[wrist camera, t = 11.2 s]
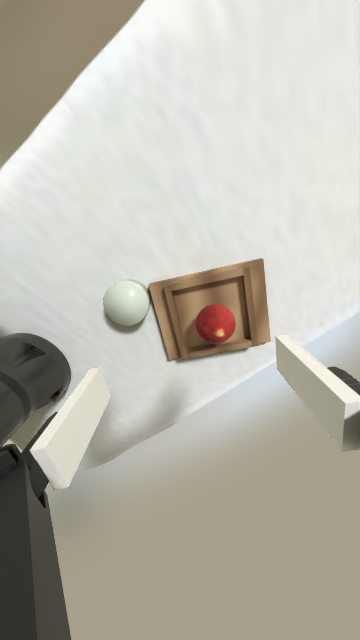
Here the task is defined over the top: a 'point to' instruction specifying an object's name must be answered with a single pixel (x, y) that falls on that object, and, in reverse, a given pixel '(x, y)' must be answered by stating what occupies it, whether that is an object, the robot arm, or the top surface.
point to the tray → (206, 289)
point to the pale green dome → (127, 302)
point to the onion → (215, 323)
